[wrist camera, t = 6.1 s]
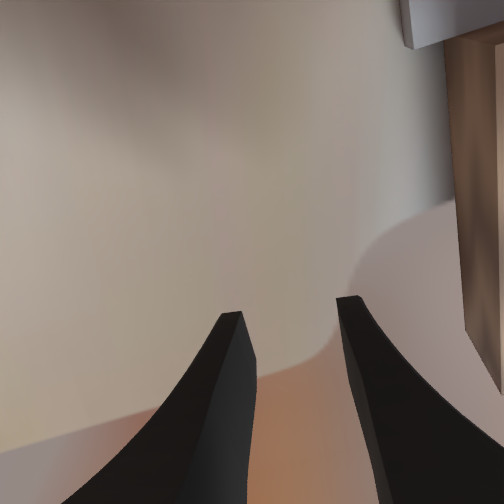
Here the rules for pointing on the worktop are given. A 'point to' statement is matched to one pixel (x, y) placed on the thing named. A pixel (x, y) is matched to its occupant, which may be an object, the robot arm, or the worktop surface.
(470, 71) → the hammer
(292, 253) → the worktop surface
